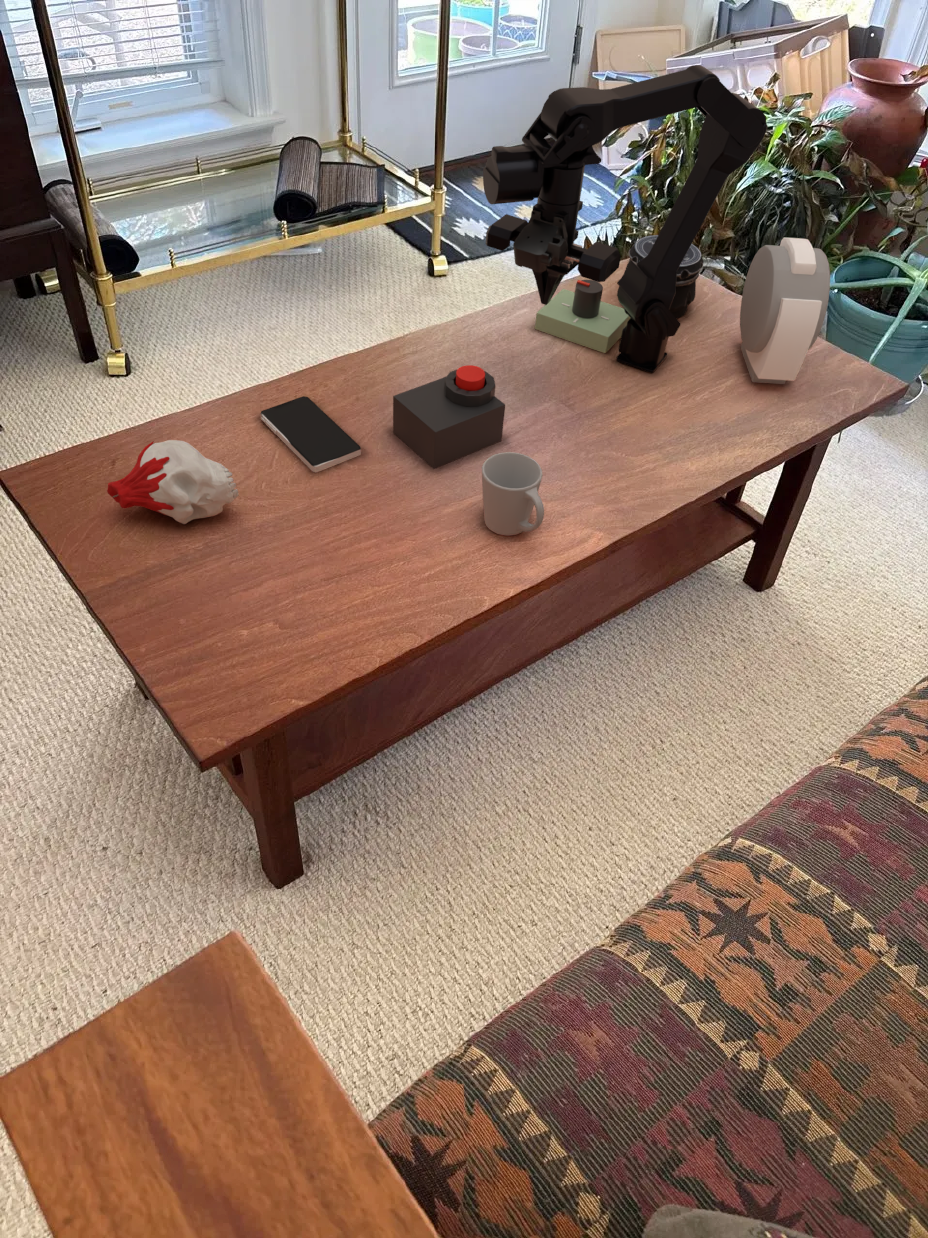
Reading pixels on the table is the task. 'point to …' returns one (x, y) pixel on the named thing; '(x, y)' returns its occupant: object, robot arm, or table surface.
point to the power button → (470, 378)
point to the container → (685, 273)
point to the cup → (511, 493)
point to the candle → (175, 482)
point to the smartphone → (310, 433)
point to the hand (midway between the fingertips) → (545, 303)
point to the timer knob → (587, 298)
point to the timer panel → (582, 323)
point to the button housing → (448, 419)
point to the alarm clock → (783, 308)
